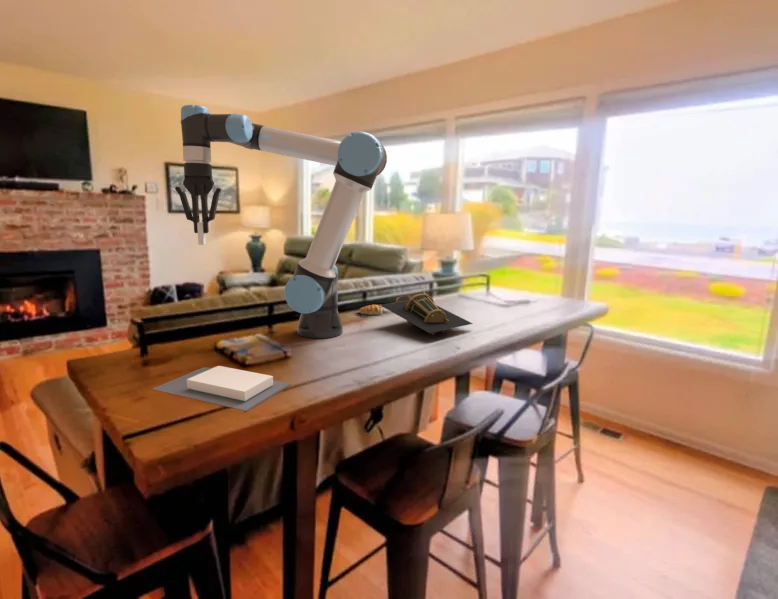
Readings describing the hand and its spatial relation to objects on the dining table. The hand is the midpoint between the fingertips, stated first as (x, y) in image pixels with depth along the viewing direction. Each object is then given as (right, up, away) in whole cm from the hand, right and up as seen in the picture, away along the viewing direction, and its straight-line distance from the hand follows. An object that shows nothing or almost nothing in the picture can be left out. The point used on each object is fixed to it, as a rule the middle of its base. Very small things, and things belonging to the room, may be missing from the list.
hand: (202, 244), depth 137 cm
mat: (+18, -37, -32) cm, 52 cm away
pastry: (+50, -23, +45) cm, 71 cm away
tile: (+13, -35, -30) cm, 48 cm away
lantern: (+67, -27, +26) cm, 77 cm away
